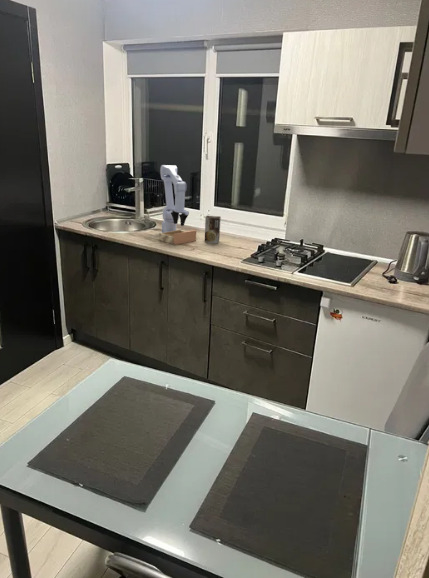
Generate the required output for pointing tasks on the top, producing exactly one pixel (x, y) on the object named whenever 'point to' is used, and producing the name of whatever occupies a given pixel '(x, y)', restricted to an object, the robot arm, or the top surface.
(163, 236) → the cart bed
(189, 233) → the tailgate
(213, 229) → the coffee box
